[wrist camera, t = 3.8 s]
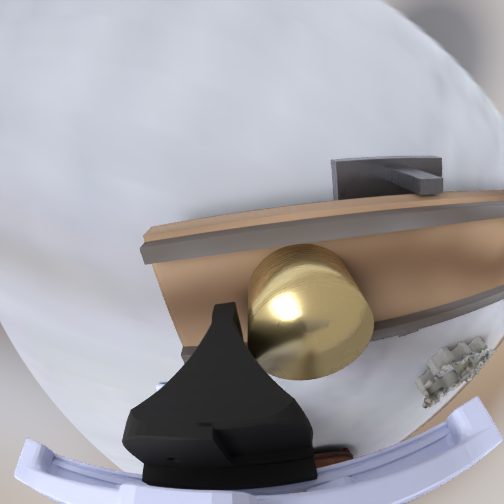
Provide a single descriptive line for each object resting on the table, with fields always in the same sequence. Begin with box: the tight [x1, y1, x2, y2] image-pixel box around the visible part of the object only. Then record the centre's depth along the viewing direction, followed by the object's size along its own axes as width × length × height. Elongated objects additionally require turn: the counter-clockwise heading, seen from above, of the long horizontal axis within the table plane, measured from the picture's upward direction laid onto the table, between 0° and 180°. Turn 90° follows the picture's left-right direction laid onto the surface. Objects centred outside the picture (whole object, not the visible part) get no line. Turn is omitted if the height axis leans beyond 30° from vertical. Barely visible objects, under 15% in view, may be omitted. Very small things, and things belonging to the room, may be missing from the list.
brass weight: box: [247, 244, 374, 380], centre depth 11 cm, size 5×5×4 cm
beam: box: [140, 190, 504, 363], centre depth 13 cm, size 8×28×2 cm, turn 98°
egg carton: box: [416, 336, 496, 408], centre depth 23 cm, size 11×8×4 cm
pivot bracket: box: [331, 156, 443, 337], centre depth 15 cm, size 11×8×4 cm
